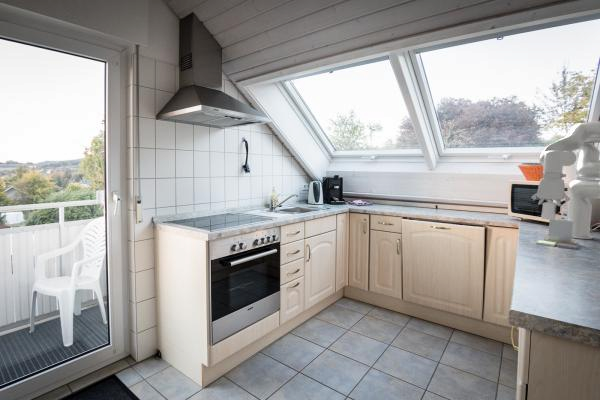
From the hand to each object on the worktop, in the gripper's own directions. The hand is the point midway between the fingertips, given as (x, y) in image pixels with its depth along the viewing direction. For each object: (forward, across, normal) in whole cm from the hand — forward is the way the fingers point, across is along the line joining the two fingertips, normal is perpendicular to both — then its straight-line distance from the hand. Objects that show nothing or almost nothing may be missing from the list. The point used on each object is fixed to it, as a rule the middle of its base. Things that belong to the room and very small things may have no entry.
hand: (548, 213), depth 159 cm
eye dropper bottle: (+3, 0, 0) cm, 3 cm away
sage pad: (+16, 0, 0) cm, 16 cm away
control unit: (+16, -4, -11) cm, 19 cm away
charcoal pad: (+16, -8, 0) cm, 18 cm away
